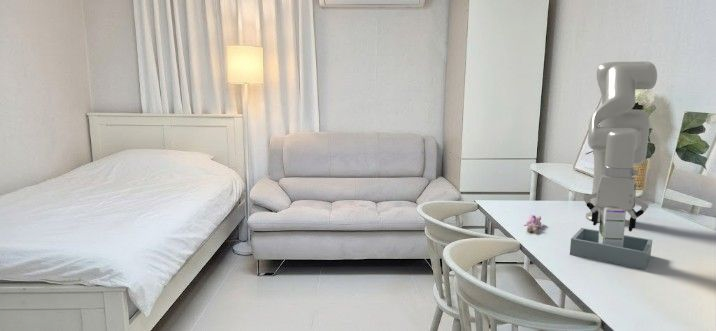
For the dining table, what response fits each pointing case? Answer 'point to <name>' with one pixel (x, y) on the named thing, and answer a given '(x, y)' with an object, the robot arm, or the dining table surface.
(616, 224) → the syrup box
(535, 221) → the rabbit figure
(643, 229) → the dining table surface
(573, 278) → the dining table surface
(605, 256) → the crate
